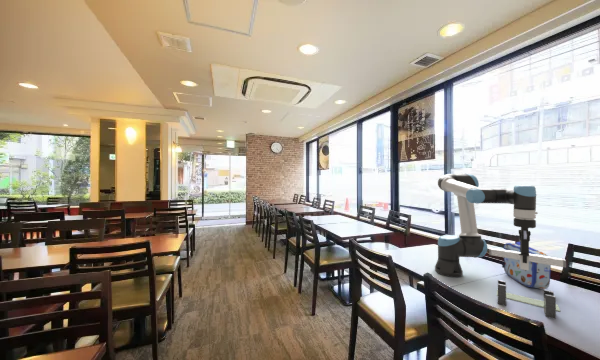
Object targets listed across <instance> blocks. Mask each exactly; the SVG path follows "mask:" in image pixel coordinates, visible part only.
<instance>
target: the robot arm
mask: <svg viewBox="0 0 600 360" xmlns="http://www.w3.org/2000/svg"><path fill="white" fill-rule="evenodd" d="M479 185H480V184H479V180H478V178H477V177H476V175H474V174H472V173H447V174H443V175H441V176H440V177H439V178H438V181H437V186H438V187H439V189H440V190H441V191H443V192H448V193H450V192H451V193H453V195H455V196H456V197H457V198H456V199H457V205H458V215H459V223H460V233H459V234H458V235H453V234H444V235H441V236H439V237H438V239H437V260H436V263H435V266H434V271H435V272H436V273H438V274H440V275H443V276H446V277H449V278H450V277H452V278H461V277H463V275H464V274H463V273H464V272H463V269H462V265H461V263H460V258H482V257H484V256H485V255H486V254H487V252H488V243H487V242H486V240H485V239H483V238H482V235H480V234H479V233H478V227H477V226H478V225H477V218H476V210H475V204H477V205H478V204H505V205H507V204H508V205H513V226H514V227H517V228H520V229H518V238H519V242H520V252H521V254H519V255H521V260H520V269H523V270H529V254H530V252H529V247H530V241H531V239H530V238H531V236H532V235H531V233H532V232H531V231H530V230H529V229H534V228H536V227H537V220H535V219H536V216H537V215H538V213H539V212H538V211H536V210H537V191H536V187H535V186H534V185H514V186H513V188H506V187H504V188H482V187H479Z"/></svg>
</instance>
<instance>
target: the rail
mask: <svg viewBox="0 0 600 360" xmlns="http://www.w3.org/2000/svg"><path fill="white" fill-rule="evenodd" d="M519 254H521V252H516V251H509V250H504V248H503V249H501V248H496V247H495V248H494V247H490V246H489V248H488V256H492V257H493V256H495V257H500V258H504V257H505V258H511V259H517V260H521V255H519ZM529 262H535V263H541V264H547V265H551V266H555V267H561V268H567V260H566V259H565V258H562V257H555V256H548V255H547V256H542V255H536V254H529Z"/></svg>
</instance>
